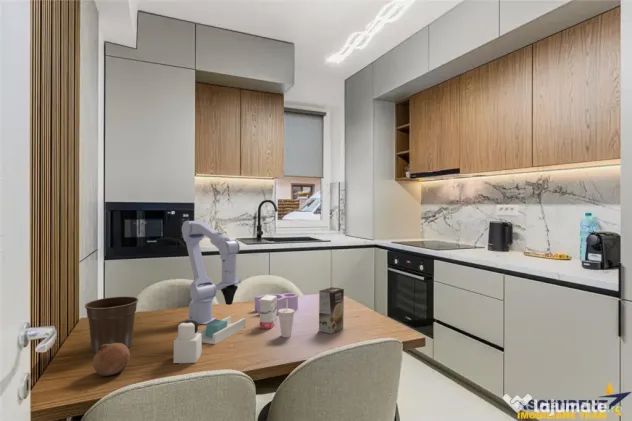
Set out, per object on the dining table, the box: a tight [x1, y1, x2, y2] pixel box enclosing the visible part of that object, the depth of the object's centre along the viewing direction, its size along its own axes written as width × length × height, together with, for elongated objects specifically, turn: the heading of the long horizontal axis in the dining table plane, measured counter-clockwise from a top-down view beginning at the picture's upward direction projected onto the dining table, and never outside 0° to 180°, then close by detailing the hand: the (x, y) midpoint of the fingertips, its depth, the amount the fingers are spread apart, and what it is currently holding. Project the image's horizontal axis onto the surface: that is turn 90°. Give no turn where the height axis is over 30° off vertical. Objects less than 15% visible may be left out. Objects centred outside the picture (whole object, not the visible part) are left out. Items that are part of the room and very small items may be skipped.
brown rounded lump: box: [92, 343, 131, 377], centre depth 103 cm, size 10×9×10 cm
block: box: [205, 319, 227, 337], centre depth 132 cm, size 6×5×4 cm
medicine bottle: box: [172, 319, 203, 364], centre depth 113 cm, size 7×7×12 cm
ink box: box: [259, 294, 278, 330], centre depth 145 cm, size 9×5×12 cm, turn 168°
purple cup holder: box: [254, 292, 299, 316], centre depth 167 cm, size 20×12×7 cm, turn 115°
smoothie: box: [278, 299, 296, 338], centre depth 134 cm, size 6×6×14 cm
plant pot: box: [84, 296, 139, 354], centre depth 122 cm, size 16×16×16 cm
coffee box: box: [318, 287, 345, 335], centre depth 141 cm, size 9×6×16 cm
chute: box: [198, 315, 246, 345], centre depth 136 cm, size 20×8×4 cm, turn 160°
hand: (229, 304), depth 140 cm, fingers closed
